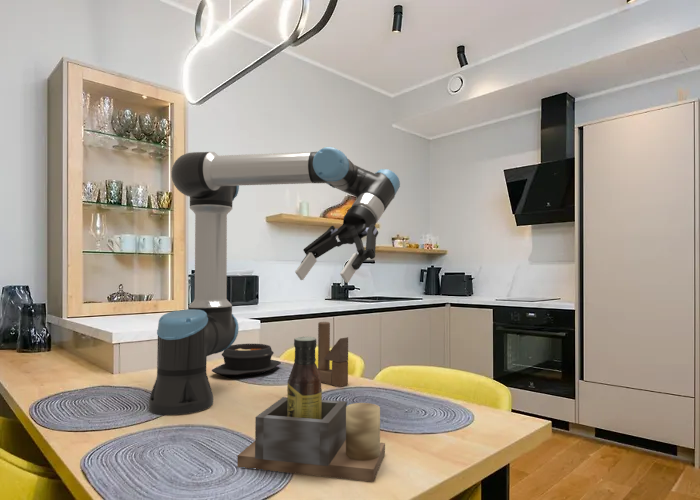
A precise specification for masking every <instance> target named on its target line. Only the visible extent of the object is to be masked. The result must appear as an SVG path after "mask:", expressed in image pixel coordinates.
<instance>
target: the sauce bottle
mask: <svg viewBox="0 0 700 500" xmlns="http://www.w3.org/2000/svg"><path fill="white" fill-rule="evenodd" d="M293 347H294V363H293V366H292V367H291V371H290V375H289V376H288V379H287V389H286V391H287V394H286V397H287V417H297V418H310V419H321V412H322V400H323V399H322V398H323V397H322V394H323V391H322V390H323V389H322V382H321V373H320V371H319V369H318V365H317V363H316V361H317V360H316V348H317V338H316V337H312V336H298V337H295V338H294V340H293Z"/></svg>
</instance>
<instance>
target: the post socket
mask: <svg viewBox="0 0 700 500" xmlns="http://www.w3.org/2000/svg"><path fill="white" fill-rule="evenodd" d="M254 423H255V425H254V427H255V428H254V429H255V435H254V436H255V437H254V441H253V442H252V443H250V444H249V445H248V446H247V447H245V448H244V449H243V450H242V451H241V452H240V453H239V454H237V455H236V456H237V458H236V460H237V462H236V465H237V467H236V468H240V467H245V468H244V469H250V468H256V469H255V470H259V469H263V470H262V471H268V470H270V471H269V472H277V471H278V473H286V474H287V473H288V474H295V475H305V476H306V475H308V476H313V477H314V476H316V477H324V478H325V477H326V478H335V479H343V480H350V481H351V480H353V481H362V482H363V481H364V482H369V483H370V482H371V483H372V482H375V480H376V477H377V474H378V471H379V470H380V467H381V464H382V462H383V459H384V457H385V455H386V442H381V407H380V405H378V404H374V403H370V402H369V403H368V402H356V403H350V404H348V402H347V401H344V400H343V401H342V400H327V399H322V412H321V419H310V418H297V417H287V396H283V397H281V398H280V399H278V400H277V401H275V402H274V403H273V404H271V405H270V406H269V407H267V408H265V409H264V410H263V411H262V412H260V413H259V414H258V415H256V416H255V422H254Z"/></svg>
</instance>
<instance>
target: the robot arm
mask: <svg viewBox="0 0 700 500" xmlns="http://www.w3.org/2000/svg"><path fill="white" fill-rule="evenodd" d="M171 181H172V183H173V186H175V188H176V189H177V190H178V191H179V192H180V193H181V194H183V195H184V196H186V197H189V209H190V210H191V211H192V212H193V213H194V218H195V219H194V221H195V223H194V227H195V228H194V229H195V230H194V299H193V301H192V302H191V303H190V304H189V305H188V309H182V310H173V311H169V312H167V313H165V314H163V315H161V316H160V317H159V319H158V325H157V330H156V334H157V357H156V359H157V364H156V365H157V366H156V370H157V371H156V379H155V381H154V384H153V387H152V390H151V393H150V397H149V398H148V411H150V412H151V413H153V414H157V415H164V416H170V415H171V416H177V415H187V414H192V413H197V412H202V411H204V410H207V409H209V408H210V407H212V406H213V404H214V394H213V391H212V387H211V384H210V381H209V377H208V375H207V361H208V360H207V358H208V356H212V355H216V354H219V353H223V352H224V350H225V349H227V348H228V347H230V346H231V345H234V343H235V341H236V340H237V337H238V335H239V328H240V327H239V323H238V320H237V318H236V317H235V315H234V314H233V304H232V303H231V302H230V301H229V300H228V299H227V290H228V289H227V288H228V287H227V285H228V283H227V281H228V280H227V279H228V278H227V277H228V276H227V274H228V273H227V271H228V270H227V267H228V266H227V263H228V262H227V261H228V260H227V259H228V258H227V254H228V253H227V249H228V247H227V246H228V245H227V244H228V242H227V240H228V238H227V236H228V225H227V224H228V216H227V215H228V214H229V213H230V212H231V211H232V210H233V201H234V200H235V199H236V198H237V196H238V195H239V191H240V190H239V189H240V186H262V185H263V186H265V185H266V186H268V185H270V186H271V185H298V184H299V185H300V184H301V185H302V184H326V185H329V186H330V187H331V188H333V189H337V190H339V191H342V192H343V193H346V194H348V195H351V196H353V197H355V198H356V199H355V201H354V202H353V203H352V205H351V207H350V208H349V209H348V210H347V212H346V213H345V215H344V216H343V221H342V225H341V226H339V227H338V228H336V227H335V226H334V225H331V226H330V227H329V228H328V229H327V230H326V231H325V232H324V233H322V235H320V236H318V237H317V238H316V239H314V240H313V241H312V242H311V243H309V244H308V245H307V246H306V247H304V249H303V253H304V254H305V257H304V258H303V259H302V261H301V262H300V265H298V267H297V269H296V270H295V271H294V272H295V274H296V276H297V277H298V278H299V280H300V281H304V280H305V278H306V277H307V275H308V274H309V273H310V271H311V270H312V268H313V267H314V265H316V263H317V262H318V260H317V259H318V258H319V257H321V256H323V255H325V254H326V253H327V252H329V251H330V250H332V249H334V248H336V247H337V248H338V247H339V248H340V247H342V246H343V245H347V244H348V245H353V244H354V245H355V248H356V252H353V253H352V255H351V256H350V258H349V260H348V261H347V262H346V264H345V265H344V267H343V268H342V270H341V271H340V273H339V274H340V276H341V278H342V280H343V281H344V282H345V283H347V284H348V283H349V282H350V281H351V279H352V278H353V276H354V274H355V273H356V271H357V270H359V269H360V267H362V265H363V263H364V262H365V261H367V260H368V259H370V260H373V259H375V258H376V247H377V245H376V244H377V242H376V241H377V237H378V235H379V231H378V229H377V226H376V224H378V221H380V218H381V217H382V216H383V214H384V213H385V212H386V210H387V208H388V206H389V205H390V204H391V202H392V201H393V200H394V199H395V197H396V194H397V192H399V189H400V187H401V182H400V178H399V176H398V175H397V174H396V173H395V171H392V170H390V169H388V168H380V169H378V170H377V171H376V172H372V171H370V170H367V169H365V168H362V167H361V166H358V165H356V164H354V163H353V162H352V161H351V160H350V159H349V158H348V157H347V155H345V153H344V152H343V151H341V149H340V150H339V149H338V148H336V147H333V146H326V147H323V148H321V149H319V150H318V151H304V152H303V151H301V152H278V153H273V152H272V153H250V154H225V155H223V154H222V155H219V154H218V153H216V152H215V151H193V152H187V153H184V154H182V155H180V156H179V157H177V159H176V160H175V161H174V163H173V165H172V167H171ZM364 237H366V242H365V247H364V243H363V241H362V240H363V239H362V238H364ZM337 238H338V239H337Z"/></svg>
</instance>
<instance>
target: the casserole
mask: <svg viewBox="0 0 700 500" xmlns="http://www.w3.org/2000/svg"><path fill="white" fill-rule="evenodd" d="M274 354H275V353H274V351H273V350H272V346H271V345H268V344H263V343H239V344H232V345H231V346H230V347H228V348H227V349H225V350H224V351H222V352H221V356H222V358H223V362H224V363H223V364H221V365H219V366H217V367H215V368H213V369H211V372H212V373H214V374H218V375H223V376H224V375H225V376H240V375H249V376H256V375H255V374H257V375H261V374H264V373H266V372H267V371H271V370H274V369H275V368H276V367H277V366H279V365H282V363H281V361H279V360H276V359H275V360H274V359H272V356H273V355H274ZM260 373H261V374H260Z"/></svg>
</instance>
